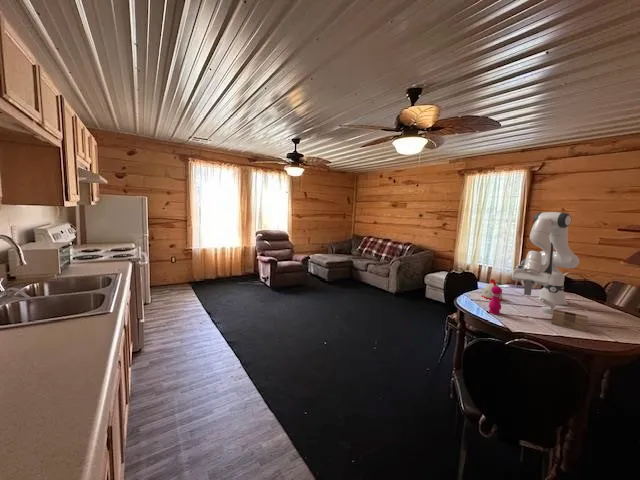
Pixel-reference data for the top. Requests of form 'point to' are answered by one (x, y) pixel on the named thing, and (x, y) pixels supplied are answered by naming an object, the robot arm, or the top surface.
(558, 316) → the wooden block
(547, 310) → the wall hook
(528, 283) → the rail bracket
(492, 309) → the pepper mill
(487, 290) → the kitchen timer
